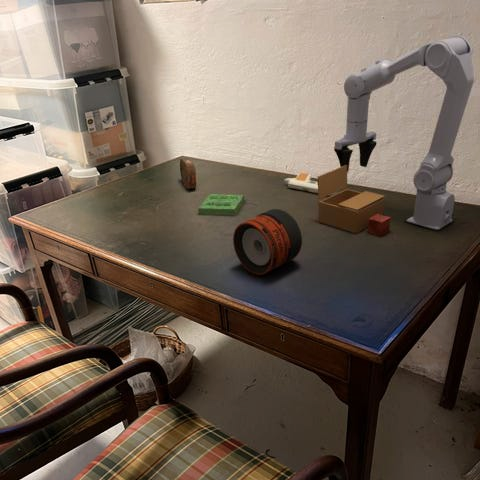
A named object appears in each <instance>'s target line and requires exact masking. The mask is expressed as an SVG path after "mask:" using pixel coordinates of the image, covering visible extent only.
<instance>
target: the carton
mask: <svg viewBox="0 0 480 480" xmlns="http://www.w3.org/2000/svg"><path fill="white" fill-rule="evenodd" d="M385 197H386V196H385V195H384V194H379V193H376V192H371V191H367V190H365V191H363V192H361V191H358V190H353V189H350V188H349V189H348V188H345V189H343V190H342V191H341V190H340V191H338V192H337V194H335V195H332V196H327V197H325V198H324V199H320V200H319V201H318V217H317V222H318V223H322V224H324V225H328V226H331V227H334V228H337V229H341V230H344V231H347V232H349V233H354V234H358V233H359V232H361V231H363V230H365V229H368V224H369V218H371V217H373V216H375V215H377V214H380V215H383V216H384V214H385V213H384V212H385V204H386V198H385Z"/></svg>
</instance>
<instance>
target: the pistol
mask: <svg viewBox="0 0 480 480" xmlns="http://www.w3.org/2000/svg"><path fill="white" fill-rule="evenodd" d="M311 179H312V174H310V173H301V172H299V173H298V174H297V176H296V177H287V178H284V181H283V183H284V184H286V185H287V188H289V189H294V190H299V191H304V192H307V193H314V194H318V181H315V180H311ZM337 193H339V191H337V192H335V193H332V194H330V195H328V196H327V197H330V196H332V195H335V194H337Z"/></svg>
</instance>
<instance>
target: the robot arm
mask: <svg viewBox="0 0 480 480" xmlns="http://www.w3.org/2000/svg"><path fill="white" fill-rule="evenodd" d="M473 52H474V49H473V47H472V46H471V44H470V42H469V41H468V40H467V39H466V38H465V37H464V36H461V35H455V36H452V37H449V38H446V39H438V40H434V41H433V42H431V43H426V44H424V45H421V46H418V47H417V48H415V49H413V50H411V51H409V52H407V53H406V54H404V55H402V56H400V57H399V58H396V59H395V60H393V61H390V60H388V59H384V60H383V59H378V60H376V61H375V62H374V63H375V64H374V65H372V66H370V67H364V68H362V69H360V72H359V73H355V74H353V73H352V74H350V75H349V76H348V77H347V78H346V79H345V80H344V84H343V90H344V93H345V95H346V96H347V105H346V126H345V134H344V135H343V137H342V138H340V139H338V140H335V141H334V147H333V151H334V153H335V154H336V156H337V159H338V162H339V166H340V167H342V166H345V165H347V174H348V173H349V169H350V162H351V157H352V154H353V152H354V150H353V149H351V148H350V146H353V145H357V144H358V149H359V166H360V167H363V168H367V167H368V164H369V161H370V157H371V156H372V153H373V152H374V149H375V148H376V147H377V141H376V140H377V132H375V131H368V119H369V105H370V100H371V94H372V93H373V92H374V91H376V90H378V89H381V88H383V87H385V86H388V85H389V84H391V83H393V82H394V81H395V78H396V76H397V75H398V74H401V73H403V72H405V71H407V70H410V69H413V68H414V67H417V66H420V67H427V69H429V71H431V72H432V73H434V74H435V75H436V76H437V77H439V78H440V79H441V80H442V81H443V83H444V85H445V86H446V90H445V92H444V97H443V100H442V104H441V108H440V110H439V115H438V118H437V121H436V124H435V128H434V131H433V136H432V139H431V142H430V146H429V149H428V153H427V154H426V156H425V157H424V158H423V160H422V161H421V163H420V166H419V168H418V170H417V171H415V173H414V175H413V178H412V179H413V185H414V187H415V189H416V193H415V202H414V209H413V216H410V217H409V218H407V219H406V222H407V223H410V224H414V225H417V226H422V227H424V228H427V229H432V230H434V231H435V230H436V231H438V230H440V229H442V228H444V227H446V226H447V225H448V224H450V223H452V222H453V219H452V218H453V212H454V206H455V200H456V198H455V194H453V193H451V192H449V191H447V184H448V183H449V182H450V181H451V180H452V178H453V176H454V168H453V164H454V161H455V158H454V157H453V156H452V153H453V152H452V151H453V149H454V146H455V142H456V140H457V136H458V133H459V130H460V126H461V123H462V120H463V117H464V113H465V110H466V107H467V104H468V102H469V98H470V95H471V91H472V88H473V85H474V81H475V75H474V68H473V67H474V66H473V61H472V56H473ZM340 167H339V168H340Z"/></svg>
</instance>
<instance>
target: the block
mask: <svg viewBox="0 0 480 480" xmlns="http://www.w3.org/2000/svg"><path fill="white" fill-rule="evenodd" d="M390 225H391V216H386V215H384V214H383V215H380V214H377V215H375V216H373V217H371V218H369V224H368V227H367V233H368V234H371V235H375V236H378V237H383V236H384V235H385V234H388V233H389V232H390V227H391V226H390Z"/></svg>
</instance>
